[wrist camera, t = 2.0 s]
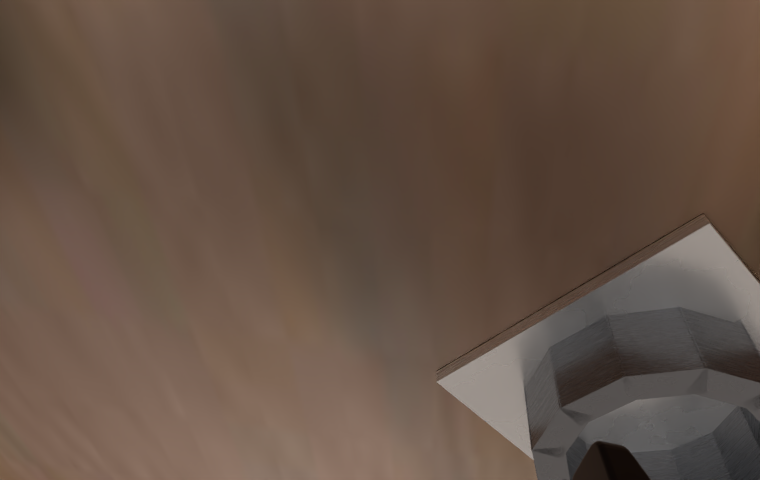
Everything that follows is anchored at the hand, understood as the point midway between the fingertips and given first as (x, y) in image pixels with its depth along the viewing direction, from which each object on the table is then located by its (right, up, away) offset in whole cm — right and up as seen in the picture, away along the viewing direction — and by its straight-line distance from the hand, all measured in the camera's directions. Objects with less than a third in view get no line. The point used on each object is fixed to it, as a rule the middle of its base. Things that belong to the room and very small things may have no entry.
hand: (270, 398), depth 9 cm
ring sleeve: (+12, -4, +17) cm, 22 cm away
